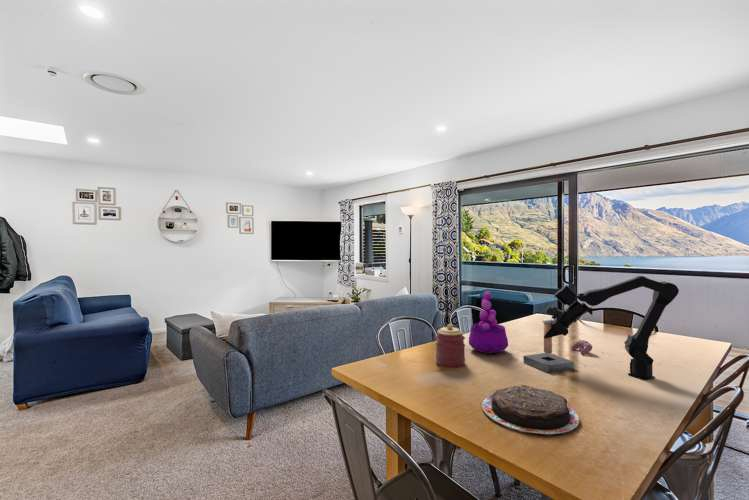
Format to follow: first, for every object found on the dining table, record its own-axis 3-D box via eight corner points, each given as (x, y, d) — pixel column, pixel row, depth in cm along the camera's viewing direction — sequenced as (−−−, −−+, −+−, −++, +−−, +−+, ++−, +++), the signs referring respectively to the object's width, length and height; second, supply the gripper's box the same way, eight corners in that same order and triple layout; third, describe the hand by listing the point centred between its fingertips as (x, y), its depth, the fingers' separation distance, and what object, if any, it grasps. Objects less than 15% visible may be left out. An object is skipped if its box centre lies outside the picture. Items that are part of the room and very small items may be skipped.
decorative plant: (511, 358, 164) (510, 294, 164) (470, 356, 168) (469, 293, 168) (504, 346, 183) (504, 289, 182) (467, 345, 186) (467, 288, 186)
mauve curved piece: (589, 358, 167) (596, 345, 167) (580, 354, 167) (587, 341, 167) (577, 352, 177) (583, 340, 177) (569, 348, 177) (575, 336, 177)
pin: (554, 353, 151) (554, 321, 151) (545, 353, 151) (544, 321, 151) (550, 350, 155) (550, 319, 155) (541, 350, 155) (541, 319, 155)
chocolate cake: (465, 414, 110) (465, 393, 110) (505, 388, 130) (505, 371, 130) (561, 450, 90) (561, 425, 90) (591, 413, 110) (591, 392, 110)
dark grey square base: (574, 368, 149) (574, 361, 149) (548, 372, 144) (548, 365, 144) (548, 359, 162) (548, 352, 162) (523, 362, 158) (523, 355, 158)
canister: (462, 358, 164) (462, 321, 164) (467, 368, 151) (466, 327, 151) (434, 358, 165) (434, 320, 165) (436, 367, 152) (436, 327, 152)
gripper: (556, 296, 160) (530, 318, 165) (558, 302, 143) (529, 327, 148) (576, 314, 156) (549, 337, 161) (581, 323, 140) (550, 347, 144)
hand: (544, 336), depth 154 cm, fingers closed on pin, 3 cm apart
